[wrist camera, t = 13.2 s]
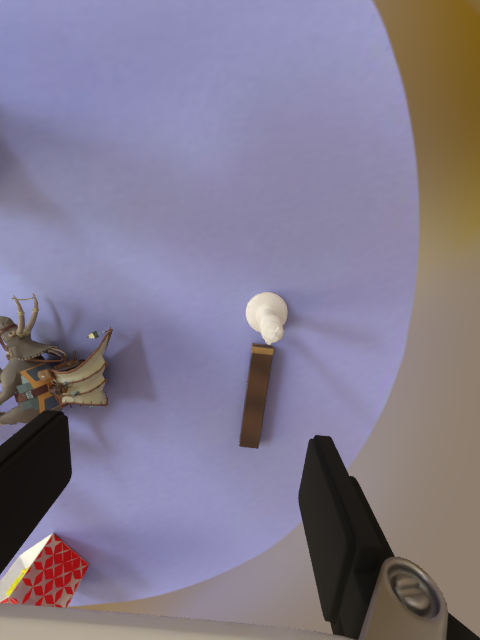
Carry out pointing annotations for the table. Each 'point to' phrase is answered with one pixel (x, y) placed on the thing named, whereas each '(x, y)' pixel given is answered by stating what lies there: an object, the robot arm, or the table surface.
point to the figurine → (46, 373)
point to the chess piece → (267, 315)
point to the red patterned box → (44, 575)
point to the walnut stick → (256, 394)
